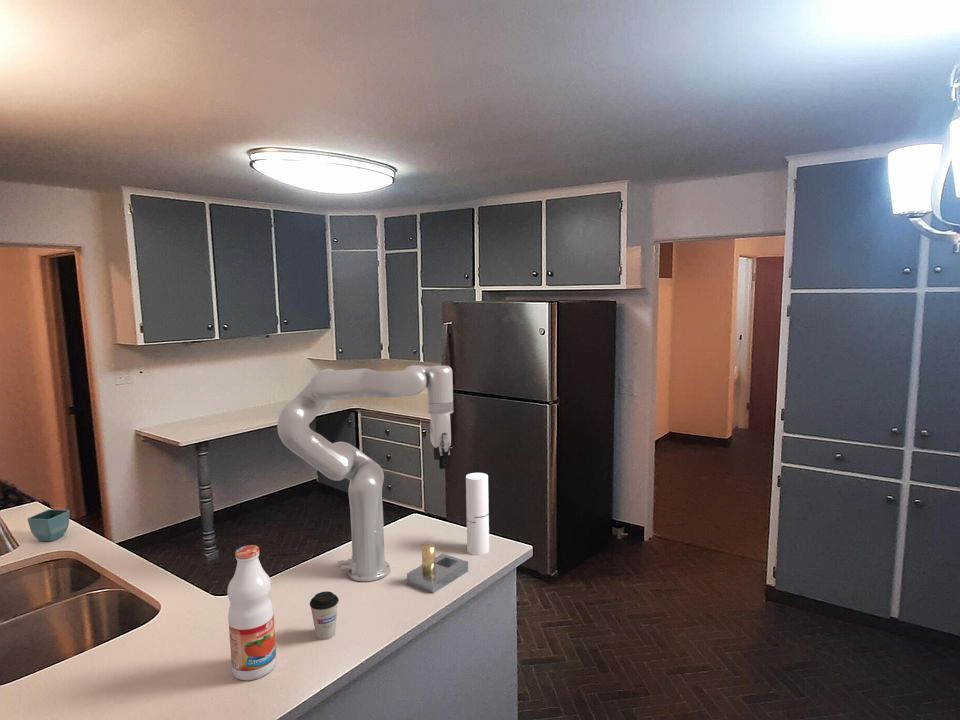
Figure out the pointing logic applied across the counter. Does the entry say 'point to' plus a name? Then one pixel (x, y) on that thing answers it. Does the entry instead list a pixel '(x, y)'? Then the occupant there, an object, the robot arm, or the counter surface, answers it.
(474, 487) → the cylindrical container
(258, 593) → the fruit juice
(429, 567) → the tan cylindrical peg
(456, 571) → the jig plate
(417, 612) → the counter surface
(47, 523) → the flower pot
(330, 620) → the coffee cup
